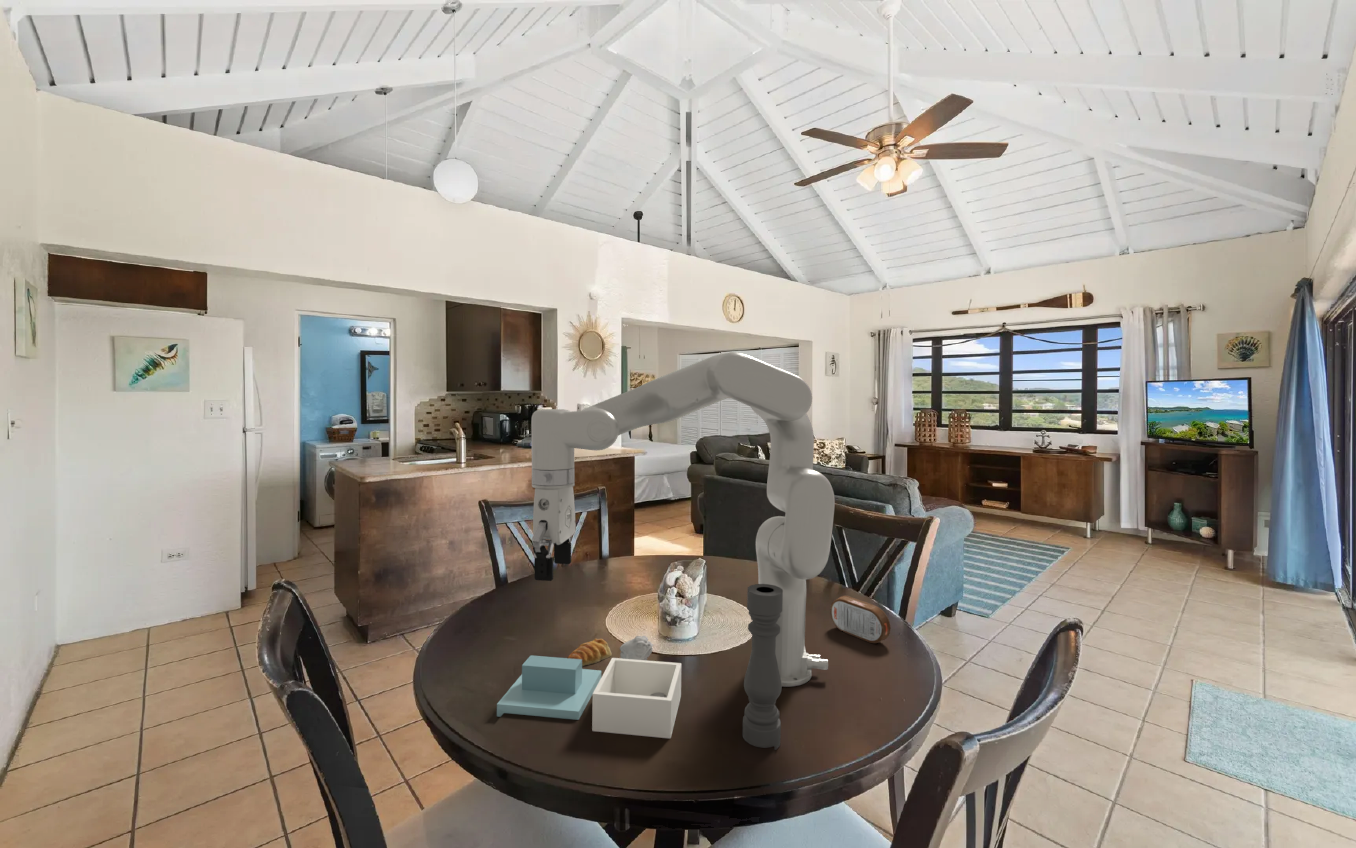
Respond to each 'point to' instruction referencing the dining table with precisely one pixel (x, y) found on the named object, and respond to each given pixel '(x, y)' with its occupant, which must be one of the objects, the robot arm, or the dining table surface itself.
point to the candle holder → (763, 667)
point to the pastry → (591, 652)
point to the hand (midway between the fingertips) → (553, 571)
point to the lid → (550, 688)
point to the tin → (860, 619)
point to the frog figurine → (636, 648)
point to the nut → (658, 694)
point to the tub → (637, 698)
